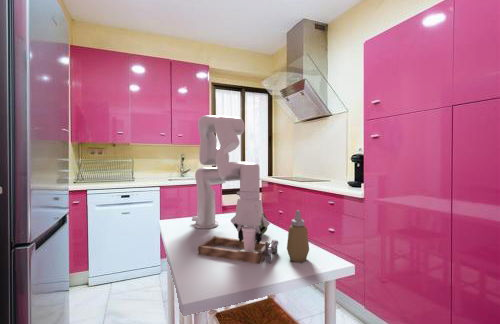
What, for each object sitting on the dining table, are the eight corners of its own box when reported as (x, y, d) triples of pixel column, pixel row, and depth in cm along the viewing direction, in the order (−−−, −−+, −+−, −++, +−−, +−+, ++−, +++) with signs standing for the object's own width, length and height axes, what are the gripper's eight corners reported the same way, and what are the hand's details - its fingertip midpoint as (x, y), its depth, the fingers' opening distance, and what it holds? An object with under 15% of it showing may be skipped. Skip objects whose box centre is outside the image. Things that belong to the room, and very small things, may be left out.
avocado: (259, 238, 115) (259, 212, 115) (248, 234, 121) (247, 209, 121) (271, 234, 120) (271, 210, 120) (260, 231, 126) (259, 207, 126)
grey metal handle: (263, 264, 88) (263, 242, 88) (272, 251, 99) (272, 232, 99) (269, 265, 87) (269, 243, 87) (278, 252, 99) (278, 232, 98)
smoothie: (245, 256, 93) (246, 218, 92) (238, 250, 98) (238, 214, 98) (261, 253, 96) (261, 216, 95) (253, 247, 101) (253, 213, 101)
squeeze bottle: (304, 265, 87) (304, 214, 86) (283, 260, 91) (283, 211, 91) (312, 257, 94) (312, 209, 93) (291, 253, 98) (292, 207, 97)
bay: (198, 254, 97) (198, 246, 97) (214, 243, 109) (214, 236, 109) (259, 263, 89) (259, 255, 88) (269, 250, 101) (269, 243, 101)
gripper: (224, 195, 96) (225, 242, 96) (268, 198, 90) (268, 248, 90) (233, 192, 103) (233, 236, 103) (274, 195, 97) (274, 241, 97)
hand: (249, 241), depth 97 cm, fingers closed on smoothie, 6 cm apart
